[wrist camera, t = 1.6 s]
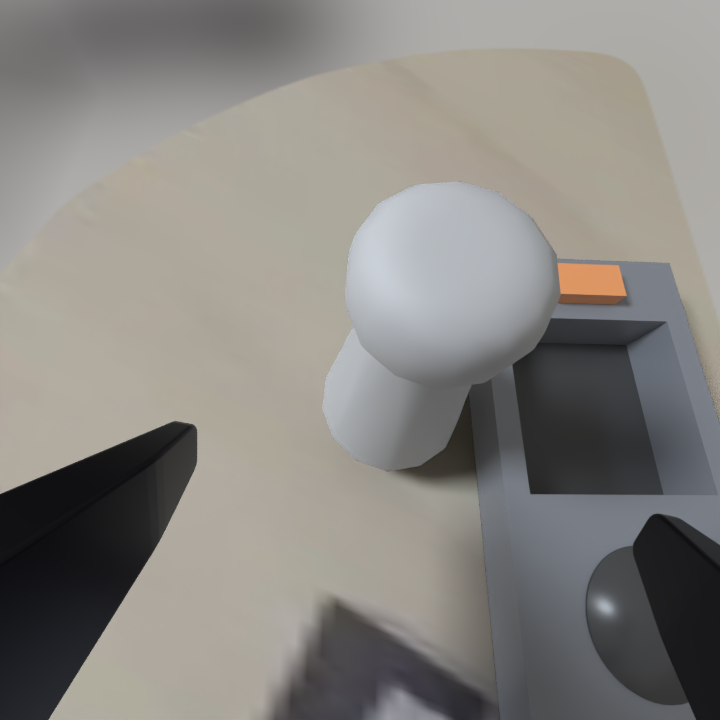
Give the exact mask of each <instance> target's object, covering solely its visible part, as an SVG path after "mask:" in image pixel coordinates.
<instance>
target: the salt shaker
mask: <svg viewBox="0 0 720 720" xmlns="http://www.w3.org/2000/svg"><path fill="white" fill-rule="evenodd" d="M560 296H561V291H560V282H559V272H558V262H557V254H556V253H555V251H554V250H553V248H552V247H551V245H550V244H549V242H548V241H547V239H546V238H545V236H544V235H543V233H542V232H541V230H540V229H539V227H538V226H537V224H536V223H535V221H534V220H533V218H532V217H531V216H530V215H529V214H527V213H526V212H525V211H523V210H522V209H521V208H519V207H518V206H516V205H515V204H514V203H512V202H511V201H510V200H508V199H507V198H505V197H504V196H503V195H501V194H500V193H499V192H497V191H493V190H489V189H486V188H482V187H478V186H475V185H471V184H467V183H464V182H446V183H431V184H418V185H413V186H411V187H409V188H407V189H405V190H403V191H401V192H399V193H397V194H396V195H394V196H392V197H390V198H388V199H386V200H384V201H382V202H380V203H378V205H377V206H376V207H375V209H374V210H373V211H372V213H371V214H370V215H369V217H368V218H367V220H366V221H365V222H364V224H363V225H362V226H361V228H360V229H359V230H358V232H357V233H356V234H355V237H354V240H353V242H352V245H351V248H350V251H349V255H348V267H347V278H346V290H345V299H346V309H347V312H348V314H349V317H350V319H351V321H352V324H353V328H352V330H351V332H350V334H349V336H348V338H347V339H346V341H345V343H344V345H343V347H342V349H341V351H340V353H339V355H338V357H337V358H336V360H335V362H334V364H333V366H332V368H331V370H330V372H329V374H328V376H327V378H326V380H325V390H324V399H323V412H324V415H325V417H326V420H327V423H328V426H329V428H330V431H331V434H332V437H333V439H334V440H335V441H336V442H337V443H338V444H339V445H341V446H342V447H343V448H344V449H345V450H346V451H347V452H348V453H349V454H350V455H351V456H352V457H353V458H354V459H355V460H356V461H359V462H362V463H365V464H368V465H371V466H374V467H377V468H380V469H383V470H386V471H393V470H399V469H405V468H411V467H417V466H420V465H422V464H423V463H425V462H426V461H428V460H429V459H431V458H432V457H433V456H435V455H436V454H438V453H439V452H441V451H442V450H443V449H445V448H446V446H447V444H448V442H449V439H450V437H451V435H452V433H453V431H454V429H455V426H456V424H457V422H458V420H459V417H460V414H461V411H462V408H463V405H464V402H465V400H466V398H467V395H468V393H469V390H470V388H471V385H473V384H480V383H485V382H486V381H488V380H490V379H491V378H493V377H494V376H496V375H497V374H499V373H500V372H502V371H503V370H505V369H506V368H508V367H509V366H511V365H512V364H513V363H515V362H516V361H518V360H519V359H521V358H522V357H524V356H525V355H527V354H528V353H530V352H531V351H533V350H534V348H535V347H536V345H537V344H538V342H539V341H540V339H541V338H542V336H543V334H544V333H545V331H546V329H547V326H548V324H549V322H550V319H551V317H552V315H553V312H554V310H555V307H556V305H557V303H558V300H559V298H560Z"/></svg>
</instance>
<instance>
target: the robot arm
mask: <svg viewBox="0 0 720 720" xmlns="http://www.w3.org/2000/svg"><path fill="white" fill-rule="evenodd" d="M196 463H197V429H196V427H195V426H194V425H193V424H189V423H183V422H178V421H174V422H171V423H168V424H166V425H164V426H161V427H159V428H156V429H154V430H152V431H149V432H147V433H145V434H142V435H140V436H137V437H135V438H133V439H130V440H128V441H126V442H123V443H121V444H118V445H116V446H114V447H111V448H109V449H106V450H104V451H102V452H99V453H97V454H95V455H92V456H90V457H87V458H85V459H83V460H80V461H78V462H75V463H73V464H71V465H68V466H66V467H64V468H61V469H59V470H56V471H54V472H52V473H49V474H47V475H44V476H42V477H40V478H37V479H35V480H33V481H30V482H28V483H25V484H23V485H21V486H18V487H16V488H13V489H11V490H9V491H6V492H4V493H1V494H0V720H48V719H49V718H50V716H51V715H52V713H53V711H54V710H55V708H56V707H57V705H58V703H59V702H60V700H61V699H62V697H63V695H64V694H65V692H66V691H67V689H68V687H69V686H70V684H71V683H72V681H73V679H74V678H75V676H76V675H77V673H78V671H79V670H80V668H81V667H82V665H83V663H84V662H85V660H86V659H87V657H88V655H89V654H90V652H91V651H92V649H93V647H94V646H95V644H96V643H97V641H98V639H99V638H100V636H101V635H102V633H103V631H104V630H105V628H106V627H107V625H108V623H109V622H110V620H111V619H112V617H113V615H114V614H115V612H116V611H117V609H118V607H119V606H120V604H121V603H122V601H123V599H124V598H125V596H126V595H127V593H128V591H129V590H130V588H131V587H132V585H133V583H134V582H135V580H136V579H137V577H138V575H139V574H140V572H141V571H142V569H143V567H144V566H145V564H146V563H147V561H148V559H149V558H150V556H151V555H152V553H153V551H154V550H155V548H156V546H157V545H158V543H159V541H160V539H161V537H162V535H163V533H164V531H165V530H166V527H167V525H168V523H169V521H170V519H171V517H172V515H173V513H174V511H175V509H176V507H177V505H178V503H179V501H180V499H181V497H182V495H183V492H184V490H185V488H186V486H187V484H188V482H189V480H190V478H191V476H192V474H193V472H194V470H195V467H196ZM632 551H633V557H634V560H635V563H636V566H637V569H638V572H639V575H640V578H641V581H642V584H643V587H644V590H645V593H646V596H647V599H648V602H649V605H650V608H651V611H652V614H653V617H654V620H655V623H656V626H657V628H658V631H659V634H660V637H661V639H662V642H663V644H664V647H665V649H666V652H667V654H668V656H669V659H670V661H671V663H672V666H673V668H674V670H675V673H676V675H677V677H678V680H679V682H680V684H681V686H682V689H683V691H684V693H685V696H686V698H687V700H688V703H689V705H690V707H691V710H692V712H693V714H694V716H695V719H696V720H720V545H719V544H718V543H716V542H715V541H713V540H712V539H710V538H709V537H707V536H706V535H704V534H703V533H701V532H700V531H698V530H697V529H695V528H694V527H692V526H691V525H689V524H688V523H686V522H685V521H683V520H682V519H680V518H678V517H675V516H670V515H664V514H659V513H657V514H653V515H652V516H650V517H649V518H648V520H647V522H646V523H645V525H644V526H643V528H642V530H641V531H640V533H639V534H638V536H637V537H636V539H635V541H634V543H633V549H632Z"/></svg>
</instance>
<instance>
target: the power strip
mask: <svg viewBox="0 0 720 720" xmlns="http://www.w3.org/2000/svg"><path fill="white" fill-rule="evenodd" d="M557 262H558V272H559V282H560V291H561V296H560V298H559V300H558V303H557V305H556V307H555V310H554V312H553V315H552V317H551V319H550V322H549V324H548V326H547V329H546V331H545V333H544V334H543V336H542V338H541V339H540V341H539V342H538V344H537V345H536V347H535V348H534V350H533V351H531V352H530V353H528V354H527V355H525V356H524V357H522V358H521V359H519V360H518V361H516V362H515V363H513V364H512V365H511V366H509V367H508V368H506V369H505V370H503V371H502V372H500V373H499V374H497V375H496V376H494V377H493V378H491V379H490V380H488V381H486V382H485V383H480V384H473V385H471V388H470V390H469V401H470V411H471V422H472V432H473V443H474V453H475V463H476V474H477V484H478V495H479V505H480V516H481V526H482V537H483V547H484V557H485V568H486V578H487V589H488V599H489V610H490V620H491V631H492V641H493V652H494V662H495V672H496V683H497V693H498V704H499V714H500V720H696V719H695V716H694V714H693V712H692V710H691V707H690V705H689V703H688V700H687V698H686V696H685V693H684V691H683V689H682V686H681V684H680V682H679V680H678V677H677V675H676V673H675V670H674V668H673V666H672V663H671V661H670V659H669V656H668V654H667V652H666V649H665V647H664V644H663V642H662V639H661V637H660V634H659V631H658V628H657V626H656V623H655V620H654V617H653V614H652V611H651V608H650V605H649V602H648V599H647V596H646V593H645V590H644V587H643V584H642V581H641V578H640V575H639V572H638V569H637V566H636V563H635V560H634V557H633V551H632V549H633V543H634V541H635V539H636V537H637V536H638V534H639V533H640V531H641V530H642V528H643V526H644V525H645V523H646V522H647V520H648V518H649V517H650V516H652V515H653V514H657V513H659V514H664V515H670V516H675V517H678V518H680V519H682V520H683V521H685V522H686V523H688V524H689V525H691V526H692V527H694V528H695V529H697V530H698V531H700V532H701V533H703V534H704V535H706V536H707V537H709V538H710V539H712V540H713V541H715V542H716V543H718V544H719V545H720V423H719V420H718V417H717V413H716V410H715V407H714V404H713V401H712V397H711V394H710V391H709V388H708V385H707V382H706V378H705V375H704V372H703V369H702V366H701V362H700V359H699V356H698V353H697V350H696V346H695V343H694V340H693V337H692V334H691V330H690V327H689V324H688V321H687V318H686V314H685V311H684V308H683V305H682V302H681V299H680V295H679V292H678V289H677V286H676V283H675V279H674V276H673V273H672V270H671V267H670V263H653V262H627V261H600V260H574V259H557Z"/></svg>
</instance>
